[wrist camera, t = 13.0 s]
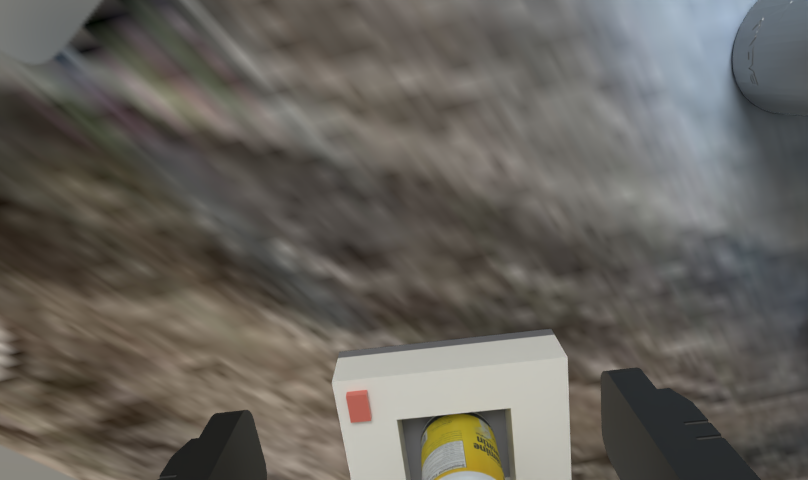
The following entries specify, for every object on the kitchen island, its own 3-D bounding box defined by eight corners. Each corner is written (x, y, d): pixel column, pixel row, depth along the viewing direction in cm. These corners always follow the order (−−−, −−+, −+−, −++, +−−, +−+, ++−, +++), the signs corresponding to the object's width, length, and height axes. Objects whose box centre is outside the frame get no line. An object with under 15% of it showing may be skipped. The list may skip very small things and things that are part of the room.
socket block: (551, 328, 41) (569, 361, 37) (558, 498, 47) (575, 546, 42) (339, 351, 42) (330, 386, 37) (370, 516, 48) (366, 565, 43)
